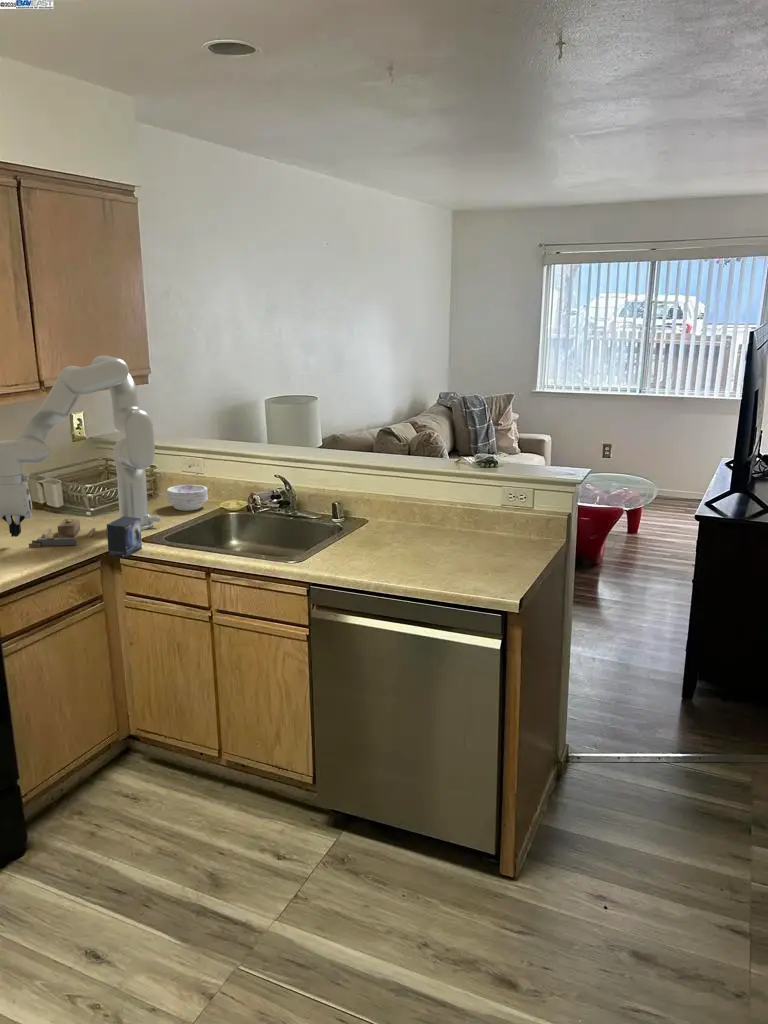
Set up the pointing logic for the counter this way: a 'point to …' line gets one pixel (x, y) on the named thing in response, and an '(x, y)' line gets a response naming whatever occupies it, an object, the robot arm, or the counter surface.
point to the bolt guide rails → (50, 532)
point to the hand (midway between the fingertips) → (15, 535)
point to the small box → (124, 536)
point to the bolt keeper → (34, 544)
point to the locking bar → (56, 541)
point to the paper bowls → (187, 496)
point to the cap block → (68, 528)
